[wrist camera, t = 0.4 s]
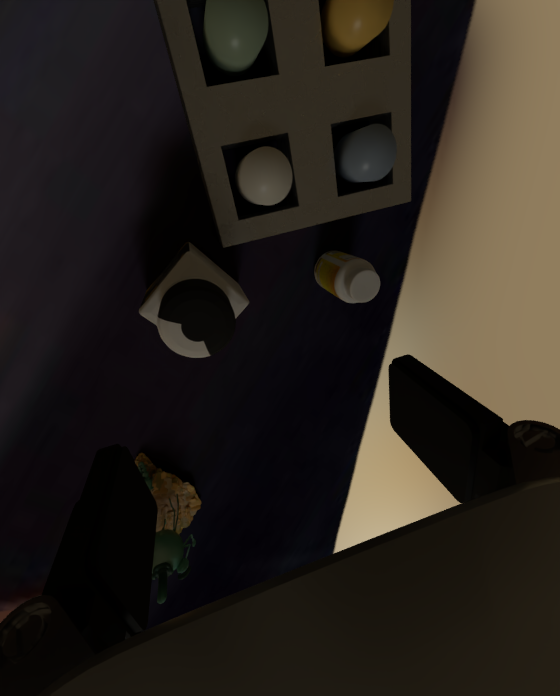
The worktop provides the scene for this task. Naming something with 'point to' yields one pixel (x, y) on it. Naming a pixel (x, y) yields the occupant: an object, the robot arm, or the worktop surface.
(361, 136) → the slate button
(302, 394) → the worktop surface
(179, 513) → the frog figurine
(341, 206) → the panel
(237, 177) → the ivory button
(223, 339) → the medicine bottle
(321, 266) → the supplement bottle
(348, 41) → the amber rounded lump
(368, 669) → the robot arm
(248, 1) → the sage button
